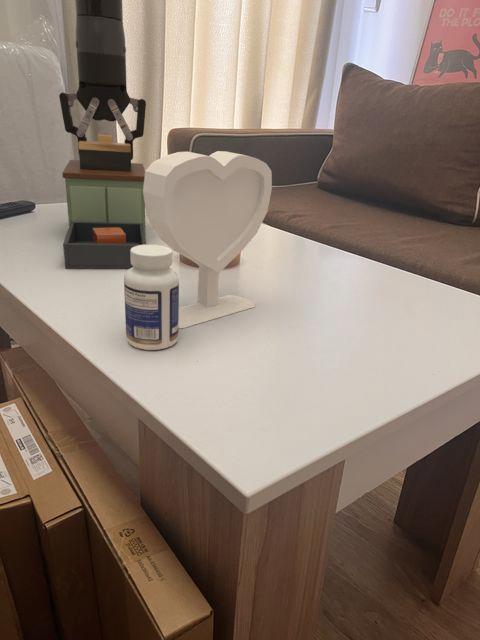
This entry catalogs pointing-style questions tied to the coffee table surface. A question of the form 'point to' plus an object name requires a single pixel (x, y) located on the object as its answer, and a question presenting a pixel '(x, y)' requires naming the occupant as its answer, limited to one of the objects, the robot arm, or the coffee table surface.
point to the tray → (100, 246)
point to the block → (109, 236)
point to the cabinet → (105, 194)
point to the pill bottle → (151, 298)
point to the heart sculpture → (207, 218)
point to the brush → (105, 154)
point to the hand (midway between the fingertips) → (106, 161)
